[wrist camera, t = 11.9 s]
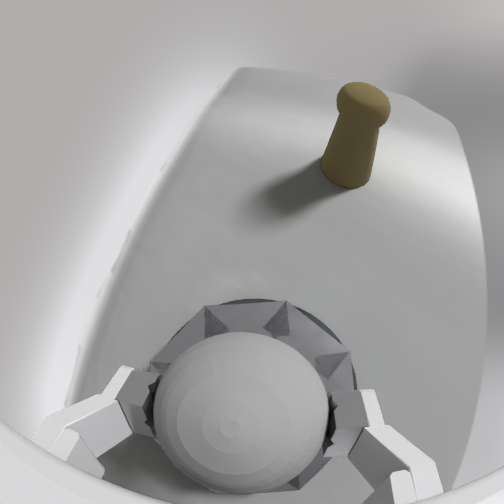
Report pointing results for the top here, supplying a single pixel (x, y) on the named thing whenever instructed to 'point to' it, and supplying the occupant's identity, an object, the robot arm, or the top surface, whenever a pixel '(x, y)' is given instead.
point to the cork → (355, 134)
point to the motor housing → (278, 327)
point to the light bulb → (241, 413)
